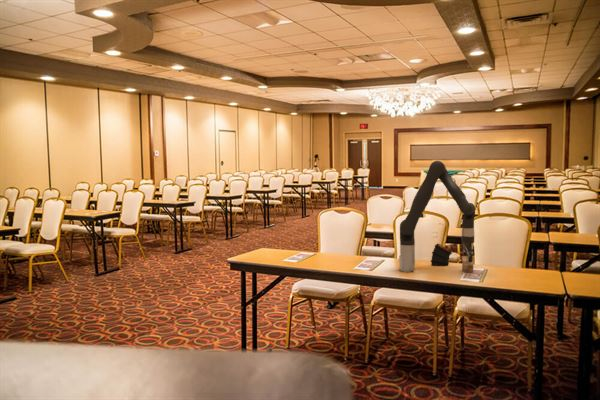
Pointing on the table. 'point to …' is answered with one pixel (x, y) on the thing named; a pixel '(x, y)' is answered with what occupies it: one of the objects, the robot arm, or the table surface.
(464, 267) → the walnut block
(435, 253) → the black ridged slab
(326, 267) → the table surface
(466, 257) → the maple block
